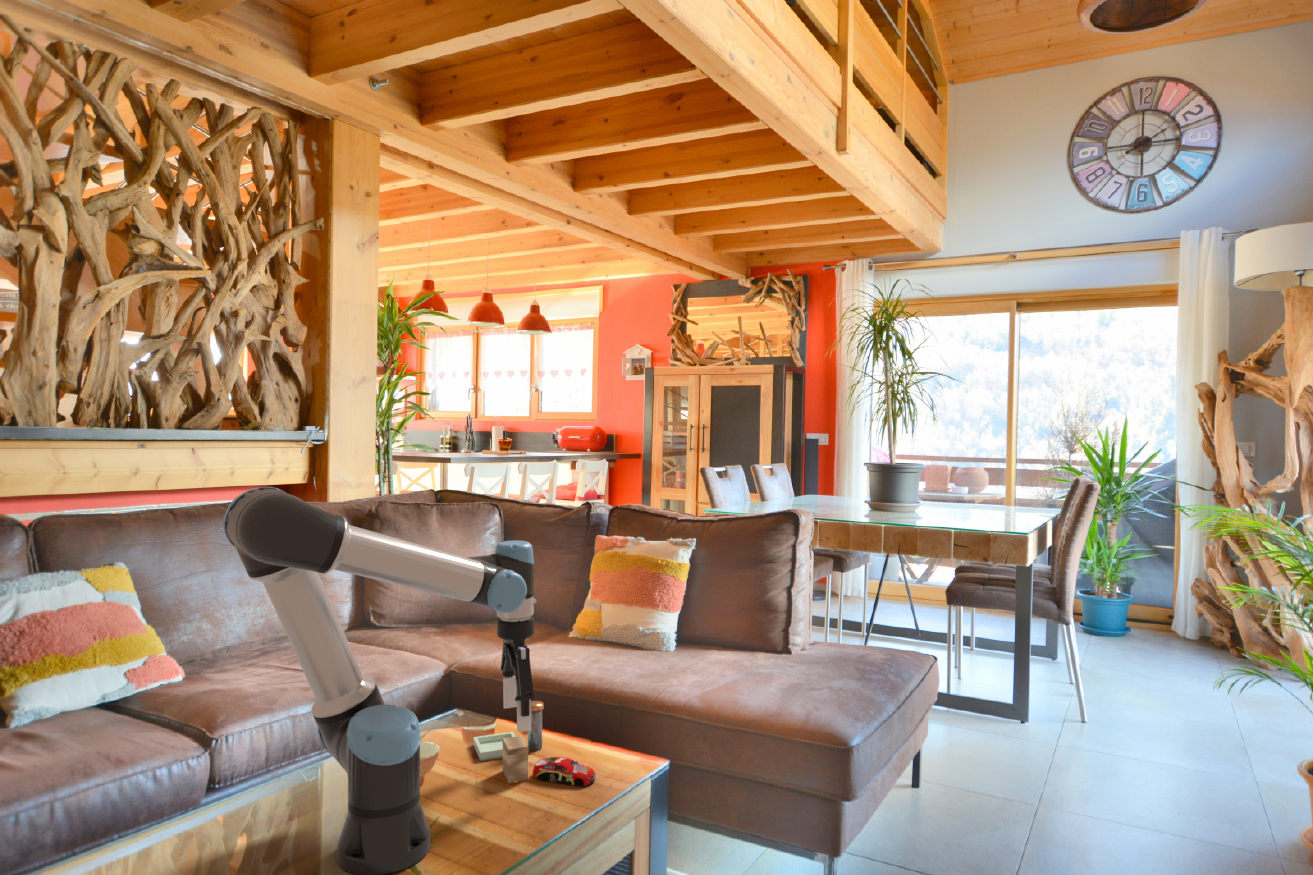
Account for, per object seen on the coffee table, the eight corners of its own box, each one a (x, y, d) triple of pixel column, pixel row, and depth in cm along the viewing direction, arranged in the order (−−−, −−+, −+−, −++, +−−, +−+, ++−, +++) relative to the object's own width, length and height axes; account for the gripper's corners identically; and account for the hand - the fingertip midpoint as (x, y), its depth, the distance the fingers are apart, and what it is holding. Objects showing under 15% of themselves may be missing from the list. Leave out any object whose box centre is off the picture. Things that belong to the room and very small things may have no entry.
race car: (599, 779, 170) (599, 760, 170) (589, 790, 165) (589, 771, 165) (541, 769, 174) (541, 750, 174) (529, 780, 169) (529, 761, 169)
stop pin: (528, 752, 182) (528, 707, 181) (524, 746, 185) (524, 702, 185) (545, 750, 183) (545, 705, 183) (541, 743, 187) (541, 700, 186)
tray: (480, 761, 177) (480, 752, 177) (473, 745, 186) (473, 737, 185) (521, 754, 181) (521, 746, 180) (513, 739, 189) (513, 731, 189)
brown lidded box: (508, 783, 167) (508, 749, 167) (502, 771, 172) (502, 738, 172) (528, 780, 168) (528, 746, 168) (521, 768, 174) (521, 735, 174)
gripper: (548, 630, 159) (549, 738, 160) (520, 601, 182) (521, 696, 183) (510, 634, 156) (511, 744, 157) (486, 604, 179) (487, 700, 180)
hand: (516, 718), depth 170 cm, fingers open, 13 cm apart
